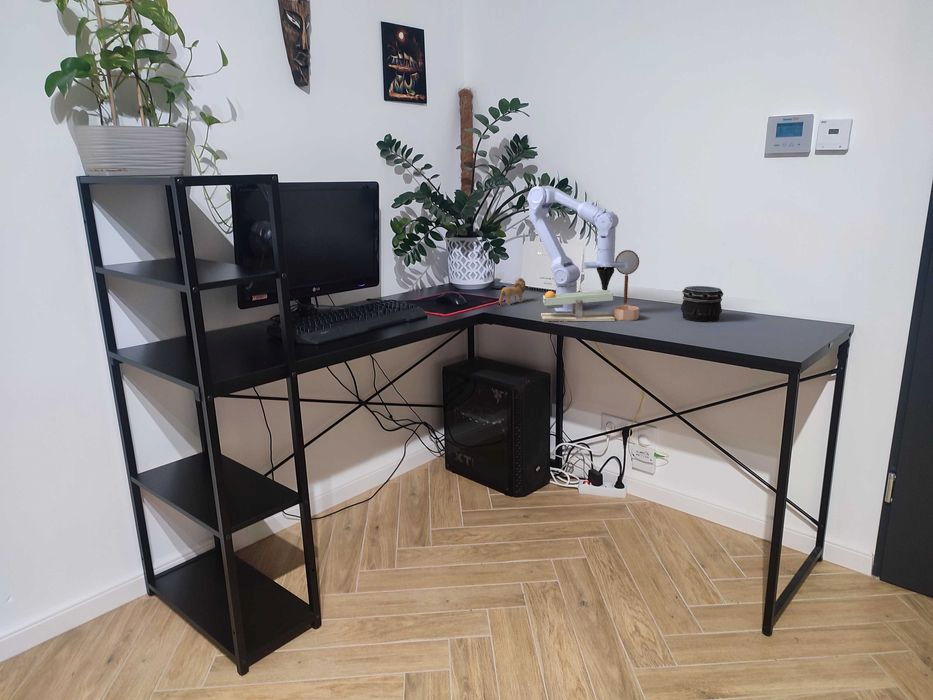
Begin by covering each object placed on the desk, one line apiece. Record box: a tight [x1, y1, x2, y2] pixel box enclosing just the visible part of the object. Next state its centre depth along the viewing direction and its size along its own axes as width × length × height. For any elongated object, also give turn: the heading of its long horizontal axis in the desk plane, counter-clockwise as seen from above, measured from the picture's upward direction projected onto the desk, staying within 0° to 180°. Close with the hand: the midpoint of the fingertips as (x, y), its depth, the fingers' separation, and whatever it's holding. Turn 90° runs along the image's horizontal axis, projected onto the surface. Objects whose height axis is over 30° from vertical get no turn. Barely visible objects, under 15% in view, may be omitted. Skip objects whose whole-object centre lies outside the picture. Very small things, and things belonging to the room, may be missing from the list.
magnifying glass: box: [614, 249, 640, 305], centre depth 236 cm, size 9×2×20 cm, turn 93°
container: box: [680, 285, 724, 323], centre depth 215 cm, size 13×13×10 cm
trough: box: [542, 289, 614, 310], centre depth 220 cm, size 12×23×4 cm, turn 88°
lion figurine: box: [498, 277, 526, 306], centre depth 245 cm, size 15×5×9 cm, turn 142°
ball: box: [544, 290, 556, 298], centre depth 218 cm, size 4×4×4 cm
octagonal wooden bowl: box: [612, 304, 640, 322], centre depth 218 cm, size 8×8×4 cm
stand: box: [540, 300, 616, 323], centre depth 218 cm, size 11×23×7 cm, turn 88°
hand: (604, 289), depth 224 cm, fingers closed
